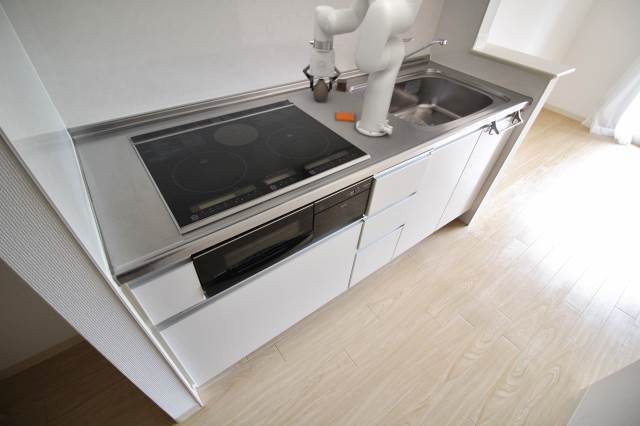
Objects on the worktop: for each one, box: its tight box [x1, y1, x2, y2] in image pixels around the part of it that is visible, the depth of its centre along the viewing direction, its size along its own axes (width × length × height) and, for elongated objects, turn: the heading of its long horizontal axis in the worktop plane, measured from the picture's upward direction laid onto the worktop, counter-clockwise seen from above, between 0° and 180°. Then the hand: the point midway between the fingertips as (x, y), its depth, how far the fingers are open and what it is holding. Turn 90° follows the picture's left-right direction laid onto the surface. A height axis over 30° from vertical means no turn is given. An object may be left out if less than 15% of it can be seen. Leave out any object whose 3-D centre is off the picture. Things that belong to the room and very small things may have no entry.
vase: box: [312, 77, 329, 103], centre depth 125 cm, size 7×7×9 cm
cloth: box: [335, 111, 355, 122], centre depth 117 cm, size 7×6×1 cm
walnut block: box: [336, 78, 348, 92], centre depth 137 cm, size 4×4×4 cm
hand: (320, 90), depth 125 cm, fingers closed on vase, 6 cm apart
